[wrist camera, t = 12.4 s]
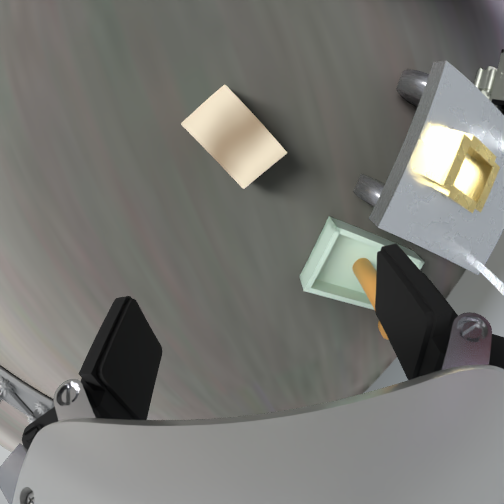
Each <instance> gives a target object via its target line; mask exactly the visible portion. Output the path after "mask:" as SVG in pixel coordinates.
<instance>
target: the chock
mask: <svg viewBox="0 0 504 504" xmlns="http://www.w3.org/2000/svg"><path fill="white" fill-rule="evenodd" d="M181 125H182V126H183V127H184V128H185V129H186V130H187V131H188V132H189V133H190V134H191V135H192V136H193V137H194V138H195V139H196V140H197V141H198V142H199V143H200V144H201V145H202V146H203V147H204V148H205V149H206V150H207V151H208V152H209V153H210V154H211V155H212V156H213V157H214V159H215V160H216V161H217V162H218V163H219V164H220V165H221V166H222V167H223V168H224V169H225V170H226V171H227V172H228V173H229V174H230V175H231V176H232V177H233V179H234V180H235V181H236V182H237V183H238V184H239V185H240V186H241V187H242V188H243V189H244V188H246V187H247V186H248V185H249V184H250V183H252V182H253V181H254V180H255V179H256V178H258V177H259V176H260V175H261V174H262V173H264V172H265V171H266V170H267V169H268V168H270V167H271V166H272V165H273V164H275V163H276V162H277V161H278V160H279V159H281V158H282V157H283V156H284V155H286V154H287V152H286V151H285V149H284V148H283V147H282V146H281V145H280V144H279V142H278V141H277V140H276V139H275V138H274V137H273V136H272V134H271V133H270V132H269V131H268V130H267V129H266V128H265V127H264V125H263V124H262V123H261V122H260V121H259V120H258V119H257V118H256V117H255V115H254V114H253V113H252V112H251V111H250V110H249V109H248V108H247V107H246V106H245V105H244V104H243V103H242V102H241V100H240V99H239V98H238V97H237V96H236V95H235V94H234V93H233V92H232V91H231V90H230V89H229V88H228V87H227V86H226V85H223V86H222V87H221V88H220V89H219V90H217V91H216V92H215V93H214V94H213V95H212V96H211V97H209V98H208V99H207V100H206V101H205V102H204V103H203V104H202V105H201V106H199V107H198V108H197V109H196V110H195V111H194V112H193V113H192V114H191V115H190V116H189V117H188V118H187V119H185V120H184V121H183V122H182V123H181Z"/></svg>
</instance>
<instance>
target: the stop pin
mask: <svg viewBox="0 0 504 504" xmlns="http://www.w3.org/2000/svg"><path fill="white" fill-rule="evenodd" d="M352 270H353V272H354V274H355V276H356V277H357V279H358V281H359V283H360V284H361V286H362V288H363V290H364V292H365V293H366V295H367V297H368V299H369V301H370V302H371V304H372V306H373V308H374V310H375V298H376V274H377V271H376V270H375V268H374V267H373V265H372V264H371V263H370V261H369V260H368V259H366V258H360V259H358V260H357V261H356V262H355V263H354V264H353V267H352ZM375 312H376V311H375ZM378 328H379V330H380V332H381V334H382V336H383V337H384V338H385V339H387V340H389V339H388V337H387V335H386V333H385V331H384V329H383V327H382V325H381V323H380V321H379V322H378Z"/></svg>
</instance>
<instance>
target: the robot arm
mask: <svg viewBox="0 0 504 504" xmlns="http://www.w3.org/2000/svg"><path fill="white" fill-rule="evenodd" d="M375 311H376V315H377V317H378V319H379V321H380V323H381V325H382V327H383V329H384V331H385V333H386V335H387V337H388V339H389V341H390V343H391V345H392V347H393V349H394V351H395V353H396V355H397V357H398V359H399V361H400V363H401V366H402V368H403V370H404V372H405V374H406V376H407V378H408V381H405V382H402V383H399V384H395V385H392V386H389V387H385V388H382V389H378V390H374V391H371V392H368V393H363V394H360V395H356V396H352V397H348V398H344V399H340V400H336V401H331V402H327V403H322V404H317V405H312V406H307V407H301V408H296V409H290V410H284V411H278V412H271V413H264V414H256V415H247V416H238V417H227V418H214V419H196V420H146V419H147V416H148V411H149V406H150V402H151V398H152V393H153V389H154V385H155V381H156V376H157V372H158V368H159V364H160V360H161V356H162V347H161V345H160V343H159V341H158V340H157V338H156V336H155V335H154V333H153V331H152V329H151V327H150V326H149V324H148V322H147V320H146V318H145V317H144V315H143V313H142V311H141V309H140V307H139V305H138V303H137V302H136V300H135V299H132V298H131V297H130V296H126V297H120V298H116V299H115V301H114V302H113V304H112V306H111V308H110V310H109V312H108V314H107V316H106V318H105V320H104V322H103V324H102V326H101V328H100V330H99V332H98V334H97V336H96V338H95V340H94V342H93V344H92V346H91V348H90V350H89V352H88V355H87V357H86V359H85V361H84V363H83V365H82V368H81V370H80V372H79V375H80V376H81V377H82V379H81V382H80V381H79V380H77V379H70V380H67V381H65V382H64V383H62V384H61V385H60V386H59V387H58V388H57V390H56V392H55V394H54V407H53V408H52V409H50V410H49V411H47V412H46V413H45V414H43V415H42V416H40V417H39V418H37V419H36V420H35V421H33V422H32V423H30V424H29V425H28V426H27V427H26V428H25V430H24V433H23V437H22V442H23V445H22V444H19V445H18V446H17V447H16V448H15V449H14V451H13V452H12V453H11V454H10V456H9V457H8V458H7V459H6V460H5V462H4V463H3V464H2V465H1V466H0V488H1V490H2V492H3V494H4V496H5V497H6V499H7V501H8V503H9V504H504V337H500V336H497V335H494V334H492V329H491V326H490V323H489V322H488V321H487V320H486V319H485V318H484V317H482V316H481V315H479V314H476V313H463V314H461V315H459V316H458V315H457V314H456V313H455V311H454V310H453V309H452V307H451V306H450V305H449V304H448V302H447V301H446V300H445V298H444V297H443V296H442V295H441V293H440V292H439V291H438V290H437V288H436V287H435V286H434V285H433V283H432V282H431V281H430V280H429V279H428V277H427V276H426V275H425V274H424V273H422V272H421V271H420V270H419V269H418V267H417V266H416V265H415V264H414V263H413V262H412V260H411V259H410V258H409V257H408V256H407V255H406V254H405V252H404V251H403V250H402V249H401V248H400V247H399V246H398V245H397V244H391V245H387V246H382V247H381V251H378V252H377V274H376V298H375Z"/></svg>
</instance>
